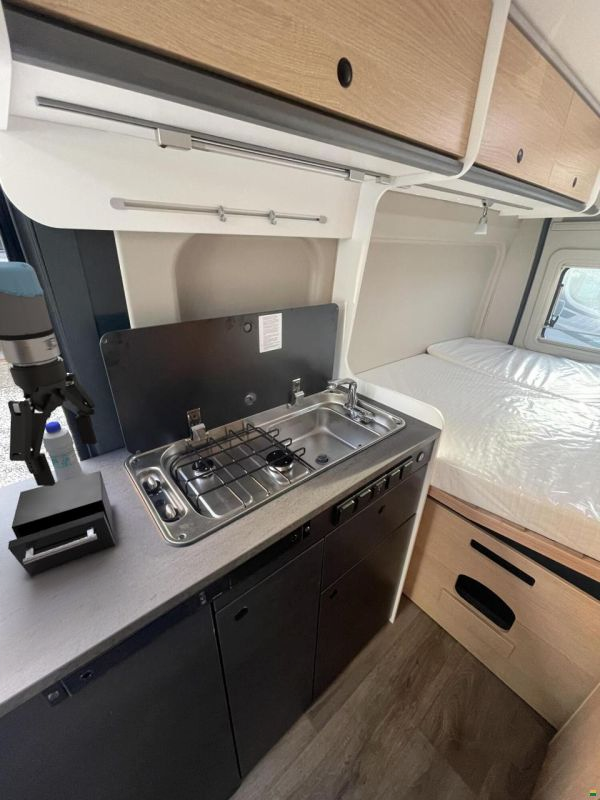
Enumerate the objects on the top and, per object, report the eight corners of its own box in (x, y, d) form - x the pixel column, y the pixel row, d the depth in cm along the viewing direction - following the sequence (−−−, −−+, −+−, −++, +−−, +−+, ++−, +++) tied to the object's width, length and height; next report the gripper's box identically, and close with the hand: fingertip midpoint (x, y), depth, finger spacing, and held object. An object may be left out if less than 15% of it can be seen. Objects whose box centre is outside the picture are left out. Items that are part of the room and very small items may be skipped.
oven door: (117, 559, 75) (105, 529, 67) (31, 592, 68) (6, 563, 60) (114, 541, 78) (103, 511, 70) (31, 571, 71) (8, 541, 63)
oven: (115, 541, 78) (102, 499, 73) (32, 571, 71) (11, 527, 65) (112, 509, 88) (100, 470, 82) (38, 533, 80) (20, 491, 75)
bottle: (82, 485, 96) (63, 426, 88) (55, 490, 94) (33, 430, 86) (86, 471, 102) (68, 415, 94) (61, 476, 100) (40, 419, 91)
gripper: (-3, 389, 45) (46, 507, 54) (97, 341, 67) (120, 430, 76) (-59, 388, 44) (-1, 507, 53) (60, 340, 67) (87, 429, 76)
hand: (70, 462), depth 65 cm, fingers open, 13 cm apart
